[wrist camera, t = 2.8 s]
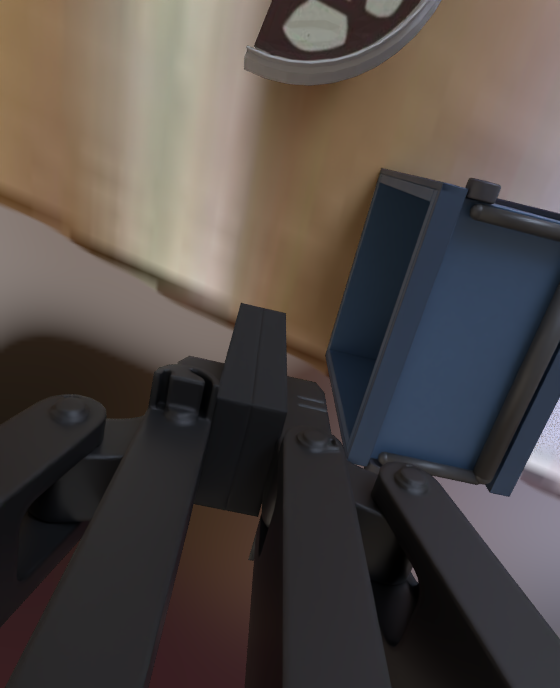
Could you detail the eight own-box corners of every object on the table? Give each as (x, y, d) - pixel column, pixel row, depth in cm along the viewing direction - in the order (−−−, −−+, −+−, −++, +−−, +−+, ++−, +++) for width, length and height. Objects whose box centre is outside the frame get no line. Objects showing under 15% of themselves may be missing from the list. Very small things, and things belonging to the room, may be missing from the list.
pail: (383, 161, 30) (452, 172, 18) (508, 194, 31) (658, 226, 18) (323, 360, 35) (345, 477, 22) (432, 385, 35) (511, 512, 23)
